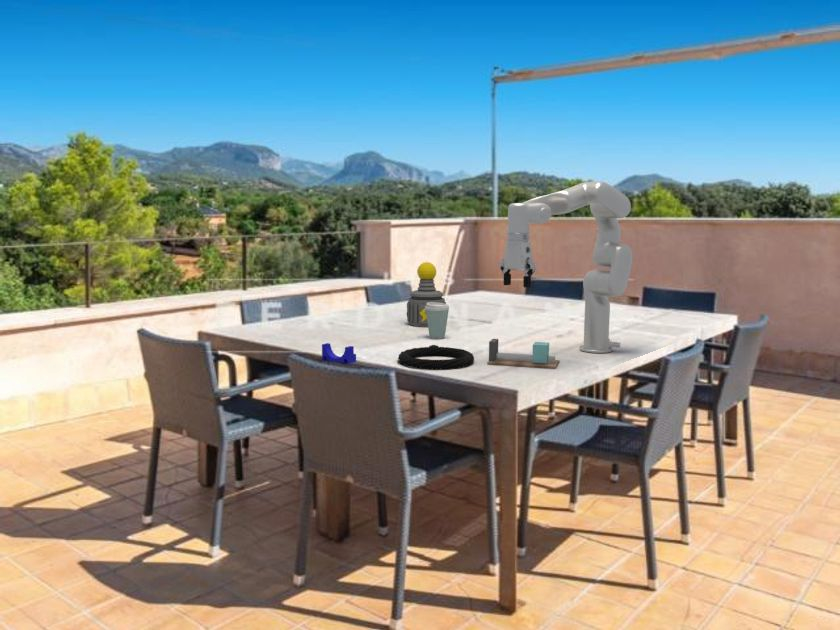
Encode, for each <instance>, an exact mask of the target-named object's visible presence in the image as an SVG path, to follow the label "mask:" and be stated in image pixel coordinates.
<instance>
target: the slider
mask: <svg viewBox="0 0 840 630" xmlns="http://www.w3.org/2000/svg"><path fill="white" fill-rule="evenodd" d="M532 355H533V356H532V363H544V364H547V356H550V342H545V341H534V343H532Z"/></svg>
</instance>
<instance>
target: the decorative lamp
mask: <svg viewBox="0 0 840 630" xmlns="http://www.w3.org/2000/svg"><path fill="white" fill-rule="evenodd" d="M417 275H418V276H417V277H418V278H419V282H418V287H417V289H416V290H414V291H410V296H411V297H409V298H408V301H407V303H406V321H407V322H408V325H409V326H411V327H416V328H428V322H427V315H426V309H425V306H426V303H429V302H436V303H444V304H447V302H446V300H445V298H444V297H443V296H444V293H443V292H442V291H440V290H437V288H436V287H435V286H436V284H435V283H434V282H435V279H434V278H435V277H436V276H437V269H436V266H435V265H434V264H433V263H431V262H428V261H424V262H422V263H420V265H419V266H418V268H417Z"/></svg>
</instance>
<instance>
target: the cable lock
mask: <svg viewBox="0 0 840 630" xmlns="http://www.w3.org/2000/svg"><path fill="white" fill-rule="evenodd" d="M420 357H449V358H451V359H430V358H429V359H426V358H420ZM397 359H398V362H399V363H400V364H401V365H404V366H405V367H409V368H413V369H420V370H453V369H462V368H465V367H469V366H471V364H473V363H474V362H475V356H474V354H473V352H472V353H471V352H470V351H468V350H466V349H462V348H457V347H447V346H445V347H444V346H439V345H437V344H432V345H429V346H425V347H422V346H421V347H413V348H410V349H409V348H408V349H406V350H403V351H401V352H400V353H399V354H398V357H397Z"/></svg>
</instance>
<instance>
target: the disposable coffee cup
mask: <svg viewBox="0 0 840 630" xmlns="http://www.w3.org/2000/svg"><path fill="white" fill-rule="evenodd" d="M425 309H426V315H427V322H428V327H427V329H428V335H429V338H430V339H433V340H442V339H444V338H445V337H446V332H447V324H448V318H449V317H448V316H449V311H450V307H449V304H447V303H446V304H444V303H436V302H429V303H426V306H425Z"/></svg>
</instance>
